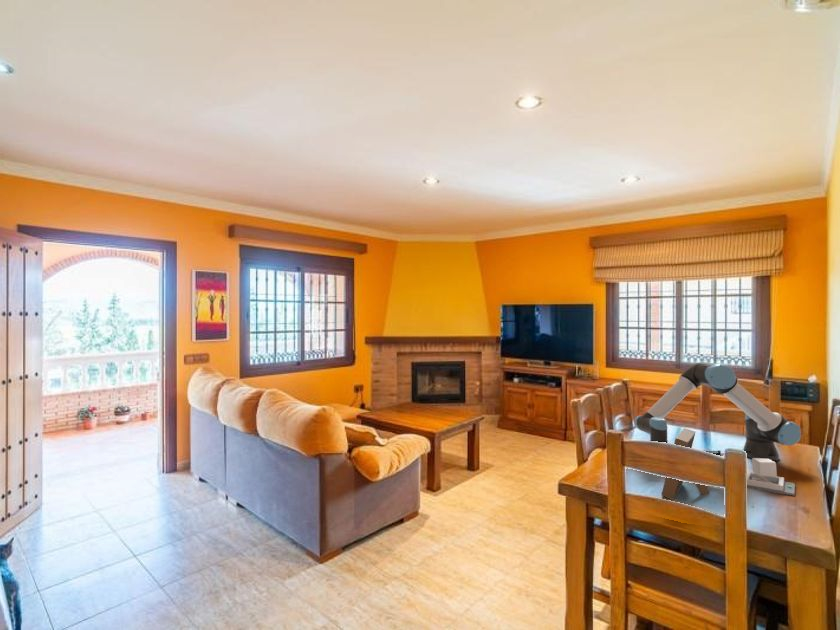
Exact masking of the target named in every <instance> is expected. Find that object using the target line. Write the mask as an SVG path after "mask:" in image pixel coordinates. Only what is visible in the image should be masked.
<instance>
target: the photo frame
mask: <svg viewBox="0 0 840 630" xmlns="http://www.w3.org/2000/svg"><path fill="white" fill-rule="evenodd" d="M695 436H696V431H694V430H691V429H689V428H686V427H684V428H683V429H682V430H681V431H680V433H678V435H677V436H676V437H675V439H674V443H673V444H676V445H681V446H685V447H690V448H692V447H693V444H694V439H695ZM692 449H693V448H692ZM683 483H684V481H683V482H682V481H679V480H676V479H672V478H667V477H666V476H665V479H664V483H663V487H662V491H661V496H663V497H666V498H667V499H670V500H675V498H676V496H677V494H678V492H680V489H681V488H682V486H683ZM695 486H696V488H697V490H698V493H699V494H700V495H701V496H702V495H706V494H707V495H708V494H710V489H709V485H708V486H705V485H700V484H695Z"/></svg>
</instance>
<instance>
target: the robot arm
mask: <svg viewBox="0 0 840 630" xmlns="http://www.w3.org/2000/svg"><path fill="white" fill-rule="evenodd" d="M701 386H707V387H709V388H710V389H712V390H713V391H714V392H715V393H716V394H718V395H724V397H726V398H727V399H728V400H729V401H730V402H732V404H734V405H736V407H737V408H738V409H740V410H741V411H742V412H744V414H745V416H744V423H745V427H744V428H745V442H744V445H743V448H742V451H743V450H744V451H746V453H747V457H746V458H748V457H749V458H748V459H752V458H763V459H770V460H776V461H779V460H780V455H779V451H778V449H777V447H776V445H775V443H777V444H780V445H782V446H788V447H789V446H795V445H796V444H798V443H799V441H800V439H801V437H802V430H801V429H802V428H801V427H800V425H798V424H797V423H795V422H793V421H789V420H787V418H785V417H784V416H782V415H781V414H780V413H779V412H775V411H774V412H773V411H772V410H770V409H769V408H768V407H767V406H766V405H764V404H763V403H762V402H761V401H760V400H759V399H757V398H756V396H754V395H753V394H752V393H750V391H748V390H747V389H746V388H744V387H743V386H742V385H741V384H740V383H739V379H738V377H737V376H736V373H735V371H734V369H732V368H731V367H729V366H728V365H725V364H722V363H711V362H705V361H702V362H698V363H695V364H693V365H691V366H690V367H689V368H687V369H686V370H685V371H684V372H683V373H682V374H681V375H680V376H679V377H678V381H676V382H675V383H674V384H673V385H672V386H671V387H670V388H669V390H667V391H666V392H665V393H664V394H663V395H662V396H661V397H660V398H659V399H658V400H657V401H656V402H655V403H654V404H653V405H652V406H651V407H650V408H649V409H648V410H647V411H646V412H645V413H644V414H643V415H637V416H636V417H635V418H634V420H633V422H634V426H635V428H637V429H638V430H639V431H641V432H643V433H646V434H649V436H650V438H649V439H650V440H649V441H658V442H666V443H668V423H667V419H665V418H666V416H667V415H668V414H669V413H671V411H672V410H673V409H674V408H675V407H676V406H677V405H678V404H680V402H682V401H683V399H684V398H685V397H686V396H688V395H689V394H690V393H691V392H692V391H696V390H697V389H698V388H699V387H701ZM668 444H669V443H668ZM703 451H706V452H709V453H713V454H716V455H720V456H723V455H724V453H725V452H722V451H721V450H720V449H719V450H718V449H717V450H707V449H706V450H704V449H703ZM750 457H751V458H750ZM778 459H779V460H778Z"/></svg>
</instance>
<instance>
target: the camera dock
mask: <svg viewBox="0 0 840 630" xmlns="http://www.w3.org/2000/svg"><path fill="white" fill-rule="evenodd" d="M746 472H747V488H746V489H752V490H758V491H764V492H769V493H775V494H780V495H785V494H786V495H785V496H791V495H792V497H795V495H796V493H795V492H796V490H795V489H796V484H795V483H796V482H795V483H794V482H790V481H785V477H782V476H777V477H773V476H763V477H764V478H765V479H767V480H769V481H770V482H772V483H768V482H762V481H756V480H752V478H761V477H759V476H758V475H757V474H755V473H754V472H753V471H752V472H751V471H746Z"/></svg>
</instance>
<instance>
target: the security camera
mask: <svg viewBox="0 0 840 630" xmlns="http://www.w3.org/2000/svg"><path fill="white" fill-rule="evenodd" d="M751 460H752V461H751V463H752V473H755V474H757V475H758V476H759V477H761V478H752V480H756V481H762V482H768V483H772V482H770V481H769V480H767V479H765V478H764V477H763V476H773V477H778V476H777V475H778V473H777V463H776V462H775V461H772V460H770V459H763V458H751Z"/></svg>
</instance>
